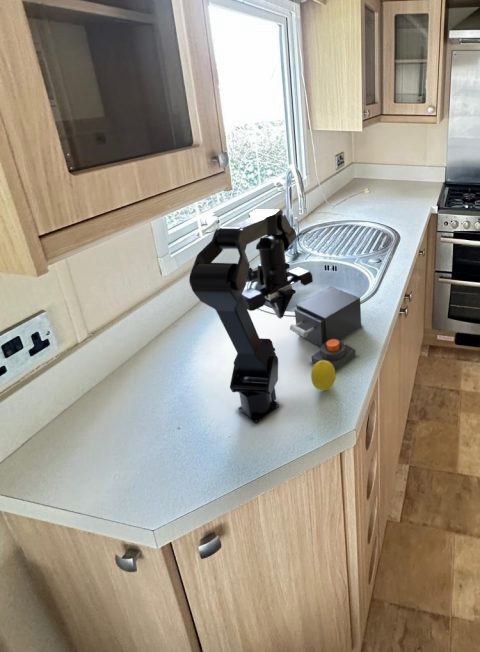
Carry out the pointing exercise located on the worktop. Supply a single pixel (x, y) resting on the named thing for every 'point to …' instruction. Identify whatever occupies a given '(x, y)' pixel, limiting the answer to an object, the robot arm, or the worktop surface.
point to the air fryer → (334, 312)
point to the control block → (335, 355)
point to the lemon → (323, 375)
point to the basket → (309, 327)
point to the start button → (333, 345)
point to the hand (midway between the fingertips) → (280, 317)
